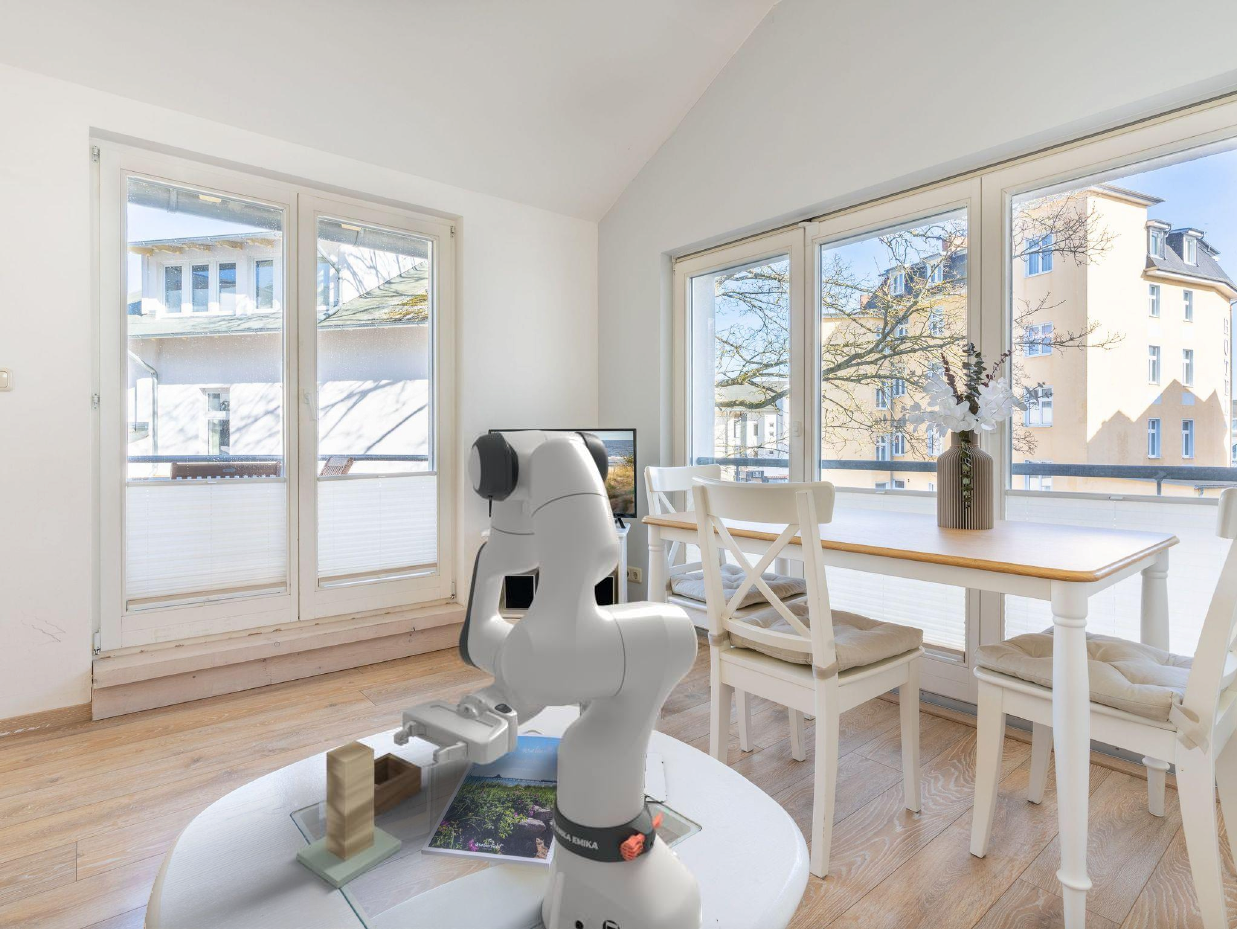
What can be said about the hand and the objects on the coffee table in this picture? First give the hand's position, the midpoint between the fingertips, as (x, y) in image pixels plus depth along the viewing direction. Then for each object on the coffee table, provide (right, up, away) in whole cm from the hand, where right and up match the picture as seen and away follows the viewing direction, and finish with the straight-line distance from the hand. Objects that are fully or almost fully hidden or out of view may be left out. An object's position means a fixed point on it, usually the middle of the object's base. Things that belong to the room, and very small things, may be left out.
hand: (415, 748), depth 100 cm
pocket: (-7, -10, +6) cm, 14 cm away
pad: (-6, -11, -9) cm, 16 cm away
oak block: (-6, -10, -9) cm, 15 cm away
